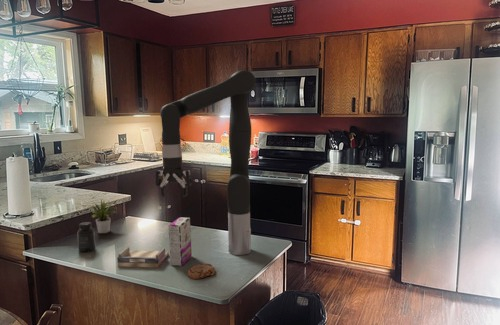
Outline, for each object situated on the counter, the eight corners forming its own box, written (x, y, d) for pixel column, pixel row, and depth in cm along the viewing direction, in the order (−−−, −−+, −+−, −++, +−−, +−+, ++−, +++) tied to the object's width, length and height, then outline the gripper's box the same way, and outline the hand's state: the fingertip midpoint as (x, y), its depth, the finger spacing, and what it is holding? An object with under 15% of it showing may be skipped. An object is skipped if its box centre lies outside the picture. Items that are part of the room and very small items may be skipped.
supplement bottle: (99, 248, 166) (97, 222, 165) (86, 254, 160) (84, 226, 159) (87, 246, 169) (86, 220, 168) (74, 251, 163) (72, 224, 161)
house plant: (102, 238, 179) (99, 204, 177) (81, 234, 185) (78, 202, 183) (123, 230, 192) (122, 198, 190) (103, 226, 198) (101, 196, 196)
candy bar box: (180, 255, 158) (179, 216, 156) (191, 255, 157) (190, 217, 155) (169, 265, 147) (168, 224, 145) (181, 266, 146) (180, 225, 144)
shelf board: (168, 254, 158) (168, 244, 158) (157, 267, 145) (157, 256, 145) (131, 253, 160) (130, 243, 159) (117, 266, 147) (116, 255, 146)
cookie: (181, 277, 137) (181, 269, 137) (197, 266, 147) (197, 259, 146) (205, 282, 133) (205, 274, 133) (220, 271, 143) (220, 263, 142)
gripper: (192, 154, 150) (194, 194, 153) (159, 154, 154) (162, 194, 156) (185, 156, 143) (187, 199, 145) (150, 157, 146) (153, 198, 148)
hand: (174, 196), depth 151 cm, fingers open, 8 cm apart
